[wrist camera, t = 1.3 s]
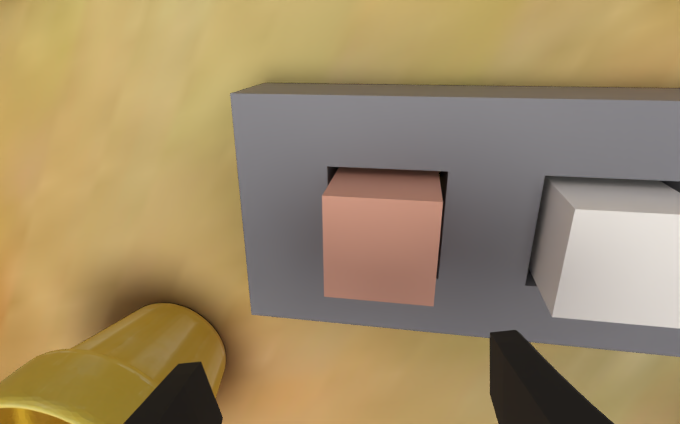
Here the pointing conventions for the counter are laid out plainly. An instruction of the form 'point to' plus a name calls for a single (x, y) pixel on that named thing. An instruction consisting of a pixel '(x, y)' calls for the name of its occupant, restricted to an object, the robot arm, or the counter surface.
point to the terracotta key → (382, 235)
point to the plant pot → (111, 369)
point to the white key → (608, 250)
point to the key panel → (443, 192)
